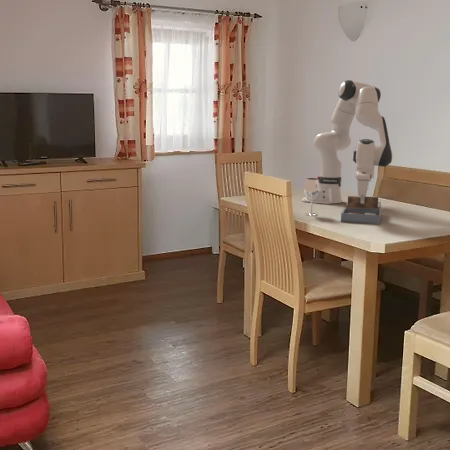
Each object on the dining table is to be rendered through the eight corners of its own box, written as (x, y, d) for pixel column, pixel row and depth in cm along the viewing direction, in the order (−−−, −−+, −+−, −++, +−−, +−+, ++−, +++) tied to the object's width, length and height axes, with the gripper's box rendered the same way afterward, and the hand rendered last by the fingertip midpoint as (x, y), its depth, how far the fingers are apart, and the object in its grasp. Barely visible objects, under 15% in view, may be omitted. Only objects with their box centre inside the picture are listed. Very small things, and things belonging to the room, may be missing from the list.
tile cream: (365, 213, 294) (364, 218, 294) (364, 215, 289) (363, 220, 290) (375, 213, 292) (375, 219, 293) (374, 215, 288) (374, 220, 288)
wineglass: (301, 212, 309) (303, 177, 305) (318, 213, 309) (319, 177, 306) (304, 216, 301) (305, 179, 297) (320, 216, 301) (322, 180, 298)
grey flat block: (345, 216, 301) (346, 204, 299) (348, 211, 314) (348, 200, 312) (378, 218, 296) (379, 206, 295) (380, 213, 309) (380, 202, 308)
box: (340, 221, 289) (341, 213, 288) (343, 216, 301) (343, 208, 300) (379, 224, 284) (380, 215, 283) (380, 219, 296) (381, 211, 295)
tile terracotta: (348, 212, 294) (348, 217, 295) (347, 214, 290) (347, 219, 290) (359, 213, 293) (358, 218, 294) (358, 215, 288) (358, 220, 289)
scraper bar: (347, 207, 293) (347, 196, 292) (348, 206, 296) (348, 195, 295) (377, 208, 290) (377, 198, 289) (377, 207, 292) (378, 197, 291)
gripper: (359, 171, 300) (357, 199, 303) (355, 176, 281) (354, 205, 284) (372, 171, 299) (370, 199, 301) (370, 176, 279) (368, 206, 282)
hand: (362, 202), depth 292 cm, fingers closed on scraper bar, 3 cm apart
